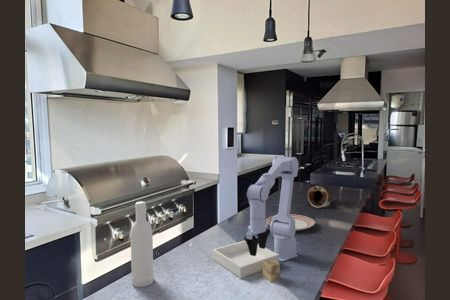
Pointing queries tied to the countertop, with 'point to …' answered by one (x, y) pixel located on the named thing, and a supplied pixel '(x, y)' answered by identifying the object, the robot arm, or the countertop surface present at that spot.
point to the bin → (242, 259)
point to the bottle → (141, 248)
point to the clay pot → (320, 196)
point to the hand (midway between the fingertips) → (257, 251)
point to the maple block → (271, 270)
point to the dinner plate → (297, 222)
